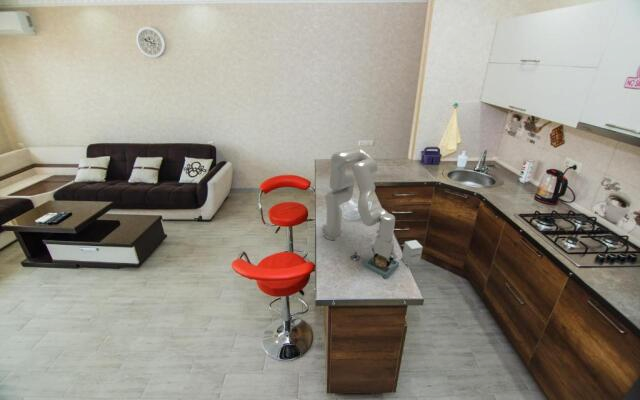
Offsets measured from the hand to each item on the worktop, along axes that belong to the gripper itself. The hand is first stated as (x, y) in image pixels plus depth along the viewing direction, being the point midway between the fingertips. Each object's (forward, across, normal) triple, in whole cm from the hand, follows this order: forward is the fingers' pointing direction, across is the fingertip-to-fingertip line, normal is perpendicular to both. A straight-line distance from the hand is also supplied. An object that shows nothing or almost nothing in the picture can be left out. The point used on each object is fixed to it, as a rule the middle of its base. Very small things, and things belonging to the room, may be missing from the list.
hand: (381, 262), depth 168 cm
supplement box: (+3, +10, +15) cm, 18 cm away
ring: (0, 0, 0) cm, 0 cm away
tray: (+3, 0, 0) cm, 3 cm away
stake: (+3, -15, -4) cm, 16 cm away
